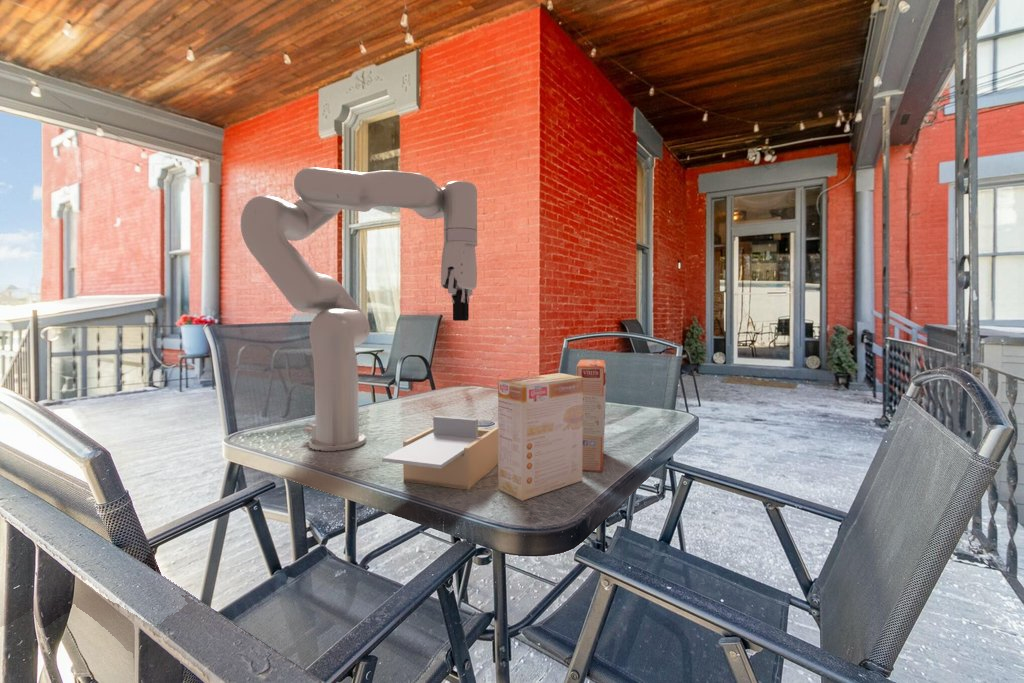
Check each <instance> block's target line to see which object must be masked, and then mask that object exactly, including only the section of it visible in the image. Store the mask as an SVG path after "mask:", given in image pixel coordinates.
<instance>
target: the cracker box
mask: <svg viewBox="0 0 1024 683" xmlns="http://www.w3.org/2000/svg"><path fill="white" fill-rule="evenodd" d="M575 368H576V371H575V373H576V374H575V376H580V377H583V451H582V453H583V455H582V472H583V471H584V472H595V473H602V472H603V463H604V452H605V451H604V449H605V448H604V447H605V427H606V426H605V424H606V399H607V398H606V393H607V388H606V387H607V369H606V368H607V365H606V360H604V359H588V358H587V359H580V360H579V361H578V362H577V365H576V367H575Z"/></svg>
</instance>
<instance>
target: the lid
mask: <svg viewBox="0 0 1024 683" xmlns="http://www.w3.org/2000/svg"><path fill="white" fill-rule="evenodd" d="M432 417H433V418H432V419H433V426H432V427H433V429H434V433H431V434H429V435H427V436H425V437H423V438H421V439H419V440H417V441H415V442H413V443H411V444H409V445H407V446H405V447H403V446H402V447H401V448H399V449H396V450H395V451H393V452H390V453H389V454H387V455H385V456H384V457H382V458H381V461H382V462H383V463H384V462H385V463H393V464H398V465H399V464H401V465H403V464H407V465H415V466H423V467H431V468H440V469H441V468H443V467H444V466H446V465H447V464H448V463H450V462H451V461H453V460H454V459H456V458H457V457H459V456H460V455H462V454H463V453H464V448H465V447H466V446H468V445H469V444H471V443H472V442H474V441H475V440H477V439H478V438H480V437H478V429H479V418H468V417H457V416H444V415H435V416H432Z"/></svg>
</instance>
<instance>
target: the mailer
mask: <svg viewBox="0 0 1024 683" xmlns="http://www.w3.org/2000/svg"><path fill="white" fill-rule="evenodd" d="M431 433H434V429H433V426H432V427H430V428H428V429H426V430H424V431H422V432H419V433H417V434H415V435H414V436H412V437H409V438H407V439H406V440H404V441H402V448H403V447H405V446H407V445H409V444H411V443H413V442H415V441H417V440H419V439H421V438H423V437H425V436H427V435H429V434H431ZM478 437H480V438H478V439H477V440H475V441H474V442H472V443H471V444H469V445H468V446H466V447H465V448H464V453H463V454H462V455H460V456H459V457H457V458H456V459H454V460H453V461H451V462H450V463H448V464H447V465H446V466H444V467H443V468H441V469H440V468H431V467H423V466H415V465H407V464H402V466H403V468H402V471H403V472H402V473H403V482H410V483H415V484H421V485H422V484H423V485H428V486H429V485H430V486H435V487H436V486H438V487H445V488H451V489H452V488H453V489H461V490H470V489H472V488H473V486H475V485H476V484H477V483H479V482H480V481H481V479H482V478H484V477H486V475H488V474H489V472H491V470H493V469H494V468H495V467H496V466H498V425H497V426H495V427H494V428H492V429H482V428H481V429H480V428H478Z"/></svg>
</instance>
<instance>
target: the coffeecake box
mask: <svg viewBox="0 0 1024 683" xmlns="http://www.w3.org/2000/svg"><path fill="white" fill-rule="evenodd" d="M497 421H498V422H497V423H498V425H497V426H498V464H497V468H498V470H497V474H498V476H497V477H498V478H497V479H498V480H497V482H498V487H497V488H498V489H497V490H499V491H501V492H502V493H504V494H508V495H509V496H512V497H513V498H516V500H520V501H523V502H524V501H526V500H530V499H531V498H534V497H538V496H540V495H541V496H542V495H543V494H546V493H549V492H550V493H551V492H552V491H555V490H558V489H562V488H564V487H567V486H570V485H572V484H576V483H579V482H582V481H583V470H582V455H583V453H582V451H583V377H580V376H576V375H572V374H569V373H568V374H567V373H563V372H562V373H561V372H560V373H559V372H557V373H550V374H541V375H533V376H522V377H517V378H516V377H515V378H508V379H499V380H498V381H497Z"/></svg>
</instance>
